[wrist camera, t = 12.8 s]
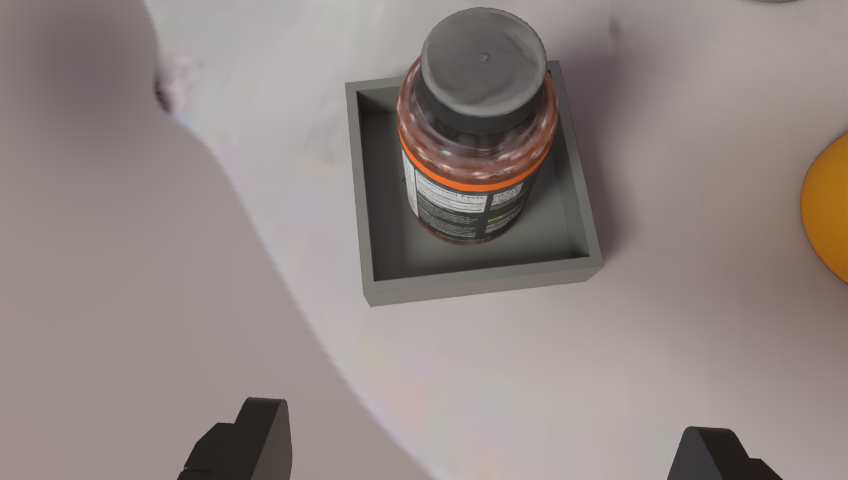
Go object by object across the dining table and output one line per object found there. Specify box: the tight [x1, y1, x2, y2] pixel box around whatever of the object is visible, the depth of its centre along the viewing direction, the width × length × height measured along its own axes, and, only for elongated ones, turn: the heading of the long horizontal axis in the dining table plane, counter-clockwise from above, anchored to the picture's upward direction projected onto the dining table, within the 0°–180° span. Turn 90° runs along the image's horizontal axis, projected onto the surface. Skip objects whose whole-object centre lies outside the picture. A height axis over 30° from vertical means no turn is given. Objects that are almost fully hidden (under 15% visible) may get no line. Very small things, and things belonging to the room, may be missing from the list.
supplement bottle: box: [396, 7, 559, 246], centre depth 23 cm, size 6×6×11 cm
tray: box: [345, 60, 604, 307], centre depth 27 cm, size 11×11×3 cm
